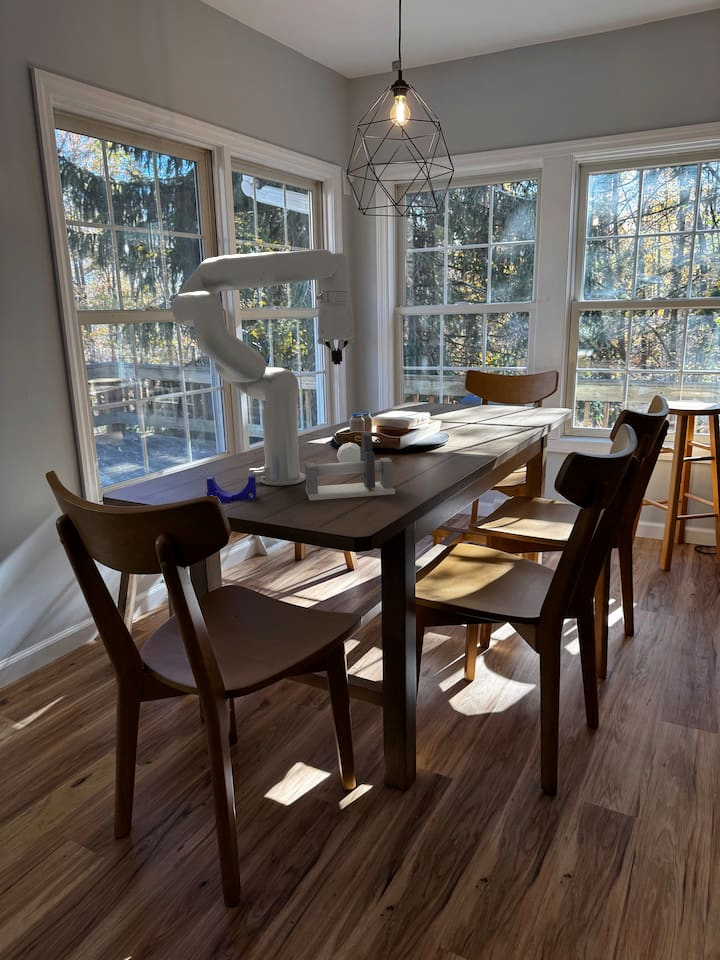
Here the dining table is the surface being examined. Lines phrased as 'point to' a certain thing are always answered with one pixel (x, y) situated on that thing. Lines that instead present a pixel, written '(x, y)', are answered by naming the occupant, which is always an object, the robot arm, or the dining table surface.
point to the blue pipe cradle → (229, 496)
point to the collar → (367, 460)
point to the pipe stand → (348, 489)
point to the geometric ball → (349, 453)
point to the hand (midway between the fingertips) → (337, 364)
